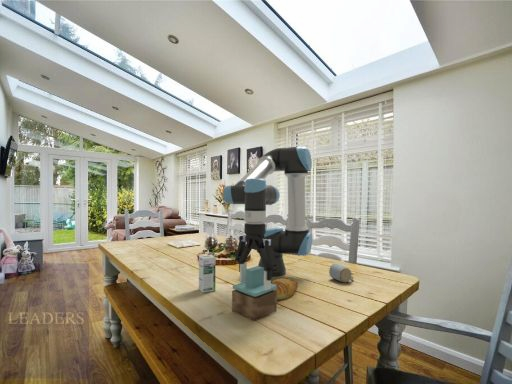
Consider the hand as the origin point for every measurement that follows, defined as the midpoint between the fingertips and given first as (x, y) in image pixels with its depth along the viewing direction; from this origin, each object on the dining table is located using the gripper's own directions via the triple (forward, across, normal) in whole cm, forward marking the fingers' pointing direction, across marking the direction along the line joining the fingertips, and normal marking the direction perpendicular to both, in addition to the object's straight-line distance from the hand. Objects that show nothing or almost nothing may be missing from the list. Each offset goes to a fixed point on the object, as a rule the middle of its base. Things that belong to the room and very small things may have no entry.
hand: (254, 285), depth 96 cm
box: (+9, 0, 0) cm, 9 cm away
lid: (+3, 0, 0) cm, 3 cm away
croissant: (+9, -3, +19) cm, 21 cm away
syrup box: (+9, -29, +1) cm, 30 cm away
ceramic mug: (+10, +6, +55) cm, 56 cm away
